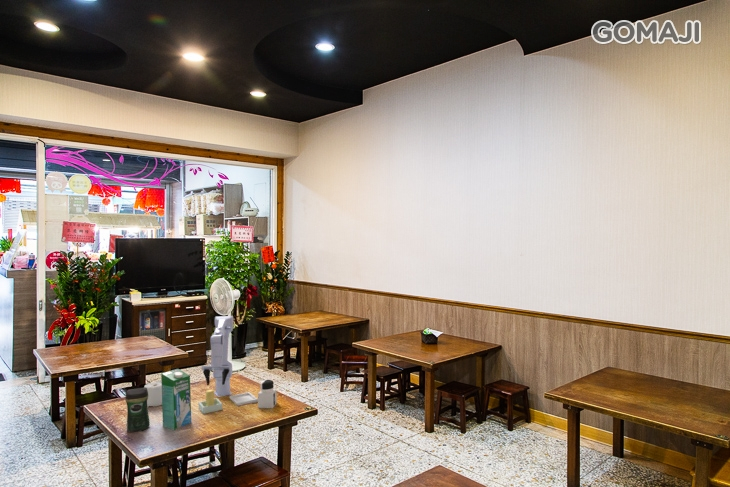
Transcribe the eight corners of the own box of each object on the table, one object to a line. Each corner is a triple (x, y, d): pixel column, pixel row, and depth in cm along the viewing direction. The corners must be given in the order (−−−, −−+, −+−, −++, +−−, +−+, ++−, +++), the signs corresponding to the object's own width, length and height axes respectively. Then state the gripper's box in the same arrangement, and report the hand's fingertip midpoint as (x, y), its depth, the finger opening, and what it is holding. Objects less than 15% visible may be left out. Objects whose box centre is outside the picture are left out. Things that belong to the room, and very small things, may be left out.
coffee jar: (150, 424, 223) (149, 385, 223) (148, 430, 216) (147, 390, 216) (127, 427, 220) (126, 387, 220) (125, 433, 213) (123, 392, 213)
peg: (205, 408, 241) (205, 390, 241) (213, 406, 243) (212, 389, 243) (207, 410, 238) (206, 392, 237) (215, 409, 240) (214, 391, 240)
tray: (229, 399, 255) (229, 395, 255) (249, 395, 261) (249, 392, 261) (237, 406, 244) (237, 403, 244) (257, 402, 249) (257, 399, 249)
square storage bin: (198, 408, 242) (198, 402, 242) (217, 405, 247) (217, 398, 247) (203, 414, 234) (202, 407, 234) (222, 410, 239) (222, 403, 239)
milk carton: (174, 430, 215) (173, 375, 215) (162, 426, 220) (161, 373, 220) (191, 423, 223) (190, 370, 223) (179, 419, 228) (177, 368, 227)
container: (277, 403, 247) (276, 378, 247) (272, 408, 240) (272, 383, 240) (262, 403, 248) (262, 378, 248) (257, 408, 240) (257, 383, 240)
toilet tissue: (147, 408, 244) (147, 389, 244) (141, 402, 254) (141, 384, 254) (169, 403, 251) (168, 384, 251) (162, 397, 261) (162, 379, 260)
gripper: (204, 356, 239) (203, 384, 234) (232, 356, 246) (232, 383, 241) (201, 358, 244) (199, 385, 239) (229, 358, 252) (228, 385, 247)
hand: (215, 384), depth 241 cm, fingers open, 7 cm apart
